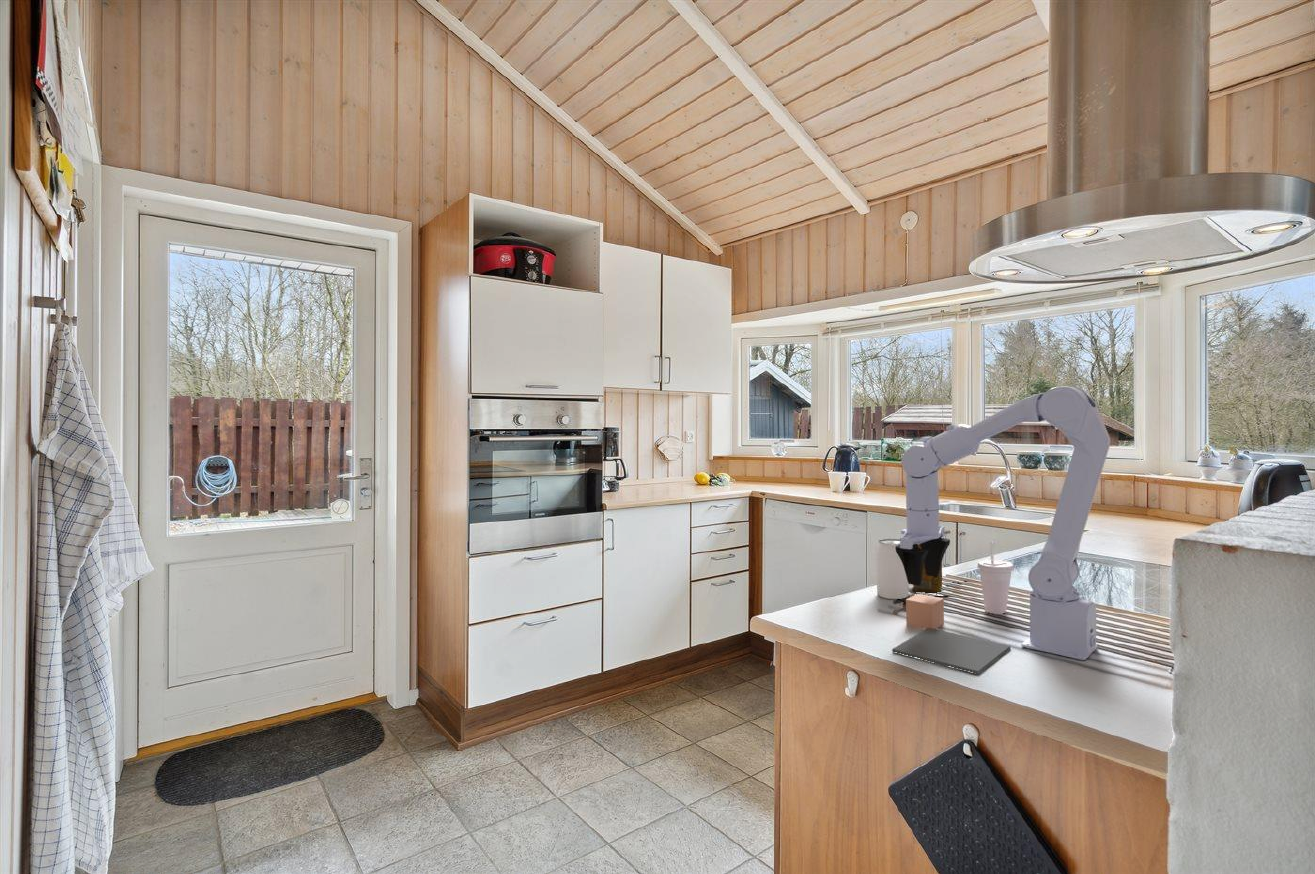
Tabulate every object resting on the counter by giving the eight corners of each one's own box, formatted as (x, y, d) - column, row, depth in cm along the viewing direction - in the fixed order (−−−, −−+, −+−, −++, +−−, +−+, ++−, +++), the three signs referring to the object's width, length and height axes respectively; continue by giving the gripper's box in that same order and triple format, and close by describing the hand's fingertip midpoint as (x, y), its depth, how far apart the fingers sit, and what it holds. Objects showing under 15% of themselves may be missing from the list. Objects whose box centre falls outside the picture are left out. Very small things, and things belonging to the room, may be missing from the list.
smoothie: (972, 606, 137) (971, 538, 136) (1004, 605, 137) (1004, 537, 136) (986, 616, 130) (985, 545, 130) (1020, 616, 130) (1019, 544, 129)
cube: (943, 624, 127) (943, 598, 127) (932, 631, 124) (932, 604, 124) (918, 618, 131) (917, 593, 131) (906, 625, 128) (905, 599, 127)
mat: (1010, 649, 114) (1010, 645, 114) (977, 674, 104) (977, 670, 104) (928, 630, 124) (928, 627, 124) (892, 652, 114) (892, 648, 114)
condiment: (941, 586, 152) (940, 533, 151) (948, 597, 144) (948, 541, 143) (907, 585, 153) (906, 533, 153) (912, 596, 145) (911, 541, 145)
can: (913, 599, 143) (912, 543, 142) (882, 600, 143) (881, 544, 142) (902, 591, 149) (902, 537, 148) (873, 591, 149) (872, 538, 148)
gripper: (919, 501, 134) (920, 569, 135) (883, 512, 124) (885, 584, 125) (954, 505, 129) (955, 574, 130) (920, 515, 119) (922, 591, 120)
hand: (923, 580), depth 127 cm, fingers open, 7 cm apart
